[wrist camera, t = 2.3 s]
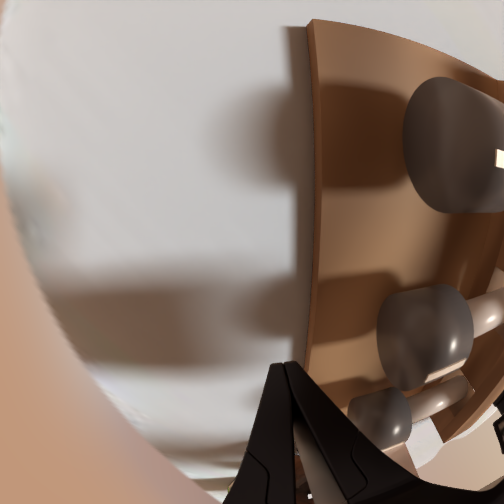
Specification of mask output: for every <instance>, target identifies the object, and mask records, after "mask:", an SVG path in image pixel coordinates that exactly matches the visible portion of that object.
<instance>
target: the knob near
mask: <svg viewBox="0 0 504 504" xmlns="http://www.w3.org/2000/svg"><path fill="white" fill-rule="evenodd" d="M402 142H403V153H404V160H405V164H406V168H407V172H408V175H409V177H410V180H411V182H412V184H413V187H414V188H415V190H416V192H417V193H418V195H419V196H420V198H421V199H422V200H423V201H424V202H425V203H426V204H427V205H428V206H429V207H431V208H432V209H434V210H436V211H438V212H442V213H497V212H502V211H504V104H503V103H502V102H500V101H498V100H496V99H495V98H493V97H491V96H489V95H487V94H485V93H483V92H481V91H479V90H476V89H474V88H472V87H470V86H468V85H465V84H463V83H461V82H458V81H456V80H453V79H451V78H447V77H434V78H430V79H428V80H426V81H425V82H423V83H422V84H421V85H420V86H418V88H417V89H416V90H415V91H414V93H413V95H412V96H411V98H410V100H409V103H408V105H407V108H406V112H405V116H404V121H403V133H402Z"/></svg>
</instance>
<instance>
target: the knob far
mask: <svg viewBox="0 0 504 504" xmlns="http://www.w3.org/2000/svg"><path fill="white" fill-rule="evenodd" d="M467 392H468V384H467V381H466V379H465V378H464V377H463V376H461V375H457V376H455V377H453V378H451V379H449V380H447V381H445V382H443V383H440V384H438V385H436V386H434V387H431V388H429V389H427V390H424V391H422V392H420V393H417V394H415V395H412V396H409V397H407V398H406V397H405V396H404V394H403V393H402V392H401V391H400V390H399V389H397V388H395V387H389V388H386V389H383V390H380V391H376V392H373V393H369V394H366V395H362V396H358V397H355V398H352V399H351V400H350V402H349V405H348V410H347V417H348V418H349V419H350V421H351V422H352V423H353V424H354V425H355V426H356V427H357V428H358V429H359V431H361V432H362V433H363V434H364V435H365V436H366V437H367V438H368V439H369V440H370V441H371V442H372V443H373V444H374V445H375V446H376V447H377V448H379V449H380V450H381V451H382V452H384V451H387V450H389V449H392V448H394V447H397V446H399V445H402V444H403V443H405V442H406V441H407V440H408V438H409V436H410V433H411V429H412V424H413V423H415V422H417V421H420V420H422V419H424V418H426V417H428V416H430V415H433V414H435V413H437V412H439V411H441V410H443V409H445V408H447V407H448V406H450V405H452V404H454V403H456V402H458V401H460V400H461V399H463V398H464V397H465V396H466V395H467Z"/></svg>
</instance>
